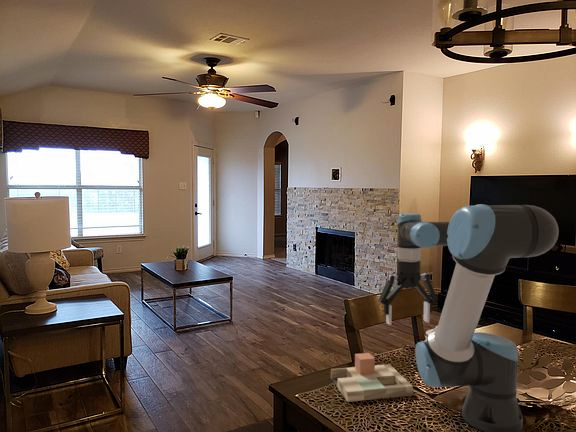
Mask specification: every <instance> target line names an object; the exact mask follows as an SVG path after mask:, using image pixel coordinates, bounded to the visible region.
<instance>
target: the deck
mask: <svg viewBox="0 0 576 432" xmlns="http://www.w3.org/2000/svg"><path fill="white" fill-rule="evenodd" d="M330 379H331V380H332V381H333V383H334V385H335V386H336V387H337V389H338V390H339V392H340V393H341V395H342V396H343V397H344V399H345V400H346V402H347V403H349V402H359V401H370V400H378V399H379V400H380V399H381V398H382V399H389V398H390V397H391V398H401V397H410V396H411V397H412V396H413V395H414V388H413V387H414V386H413V385H412V383H410V382H409V381H408V380H407V379H406V378H405V377H404V376H402V374H401V373H399V372H398V371H397V370H396V369H395V368H394V367H393V366H392V365H391V364H390V363H389V364H378V365H377V364H376V365H375V374H363V375H360V374H359V373H358V372H357V370H356V369H355V366H351V367H340V368H339V367H338V368H330Z"/></svg>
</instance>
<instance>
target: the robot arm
mask: <svg viewBox="0 0 576 432" xmlns="http://www.w3.org/2000/svg"><path fill="white" fill-rule="evenodd" d="M396 225H397V250H396V251H397V253H396V255H397V256H396V257H397V261H396V262H397V263H396V272H397V273H396V275H395V274H394V275H392V274H390V273H389V274H388V275H387V280H386V283H385V285H384V286H383V289H382V291H381V293H380V295H379V296H378V297H379V298H378V300H377V301H378V302H379V303H380V304H382V305H383V314H384V315H385V323H386V324H387V325H389V326H392V318H393V317H392V314H393V312H392V311H393V310H392V309H393V305H391V303H392V302H393V301H394V300H395V298H396V297H397V296H398V294H399V293H400V292H401V291H402V290H403V289H410V288H411V289H416V290H417V291H418V292H419V294H420V295H421V296H422V298H424V300H425V301H423V322H425V323H428V324H429V323H430V320H431V319H430V317H431V316H430V313H432V311H433V304H434V302H437V301H438V300H439V299H438V296H437V294H436V291H435V290H434V287H433V286H432V283H431V281H430V275H429V273H426V272H423V273H421V267H422V265H421V264H422V262H421V261H420V260H421V257H422V255H421V254H422V248H426V249H428V248H429V249H430V248H432V247H445V246H446V247H448V250H449V252H450V254H451V255H452V259H453V261H455V267H454V270H453V273H452V277H451V280H450V284H449V287H448V291H447V294H446V297H445V300H444V305H443V308H442V310H441V314H440V318H439V321H438V324H437V326H438V327H437V328H436V327H435V328H436V329H434V328H433V329H434V330H432V331H431V332H430V334H429V336H428V339H427V341H426V342H424V341H425V340H422V341H418V342H417V343H416V344H415V352H414V353H415V361H416V366H417V370H418V374H419V377H420V378H421V380H422V382H423V383H424V384H425V386H427V387H430V388H440V389H441V388H448V387H449V388H450V387H451V388H452V387H468V386H469V389H468V392H467V394H466V397H465V399H464V402H463V403H462V407H461V416H462V419H463V420H464V421H465V423H467V424H468V425H470V427H473V428H475V429H476V430H480V431H481V432H521V431H522V430H523V427H524V419H523V414H522V411H521V408H520V404H519V401H518V399H517V389H518V387H517V385H518V365H519V364H518V362H519V355H518V353H519V351H518V347H517V345H516V344H515V343H514V342H513V341H511V340H510V339H508V338H506V337H503V336H500V335H497V334H492V333H487V332H481V331H480V332H479V331H476V329H477V327H478V323H479V321H480V319H481V315H482V312H483V309H484V307H485V304H486V301H487V299H488V295H489V293H490V289H491V288H492V285H493V282H494V279H495V276H497V275H501V274H502V273H504V272H505V270H506V268H507V265H508V263H509V260H510V259H516V258H517V259H518V258H533V257H538V256H541V255H543V254H546V253H547V252H548V251H550V250H551V249H552V248H554V246H555V245H556V243H557V241H558V238H559V234H560V233H559V232H560V231H559V230H560V229H559V225H558V223H557V221H556V219H555V217H554V216H553V215H552V214H551V213H550V212H549V211H547V210H546V209H545V208H542V207H539V206H536V205H529V204H515V205H514V204H512V205H511V204H507V205H505V204H503V205H502V204H499V205H497V204H496V205H494V204H492V205H491V204H490V205H488V204H482V203H481V204H480V203H479V204H476V205H466V206H463V207H461V208H459V209H457V210H456V211H455V212H454V214H453V215H452V217H451V218H450V220H449V221H422V215H421V214H420V213H400V214H398V217H397V223H396ZM420 280H422V282H423V284H424V286H425V288H426V289H424V288H423V286H422V285H421V283H420ZM396 281H397V282H396ZM394 282H396V283H394ZM394 284H395V285H394ZM393 285H394V287H393ZM392 287H393V289H392ZM391 289H392V290H391ZM426 290H427V291H426Z"/></svg>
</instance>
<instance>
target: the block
mask: <svg viewBox="0 0 576 432" xmlns="http://www.w3.org/2000/svg"><path fill="white" fill-rule="evenodd" d="M375 362H376V359H375V357H374V356H373V355H372V354H371V353H370V352H363V353H354V367H355V369H356V370H357V372H358V373H359V374H360V375H363V374H375V364H376V363H375Z"/></svg>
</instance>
